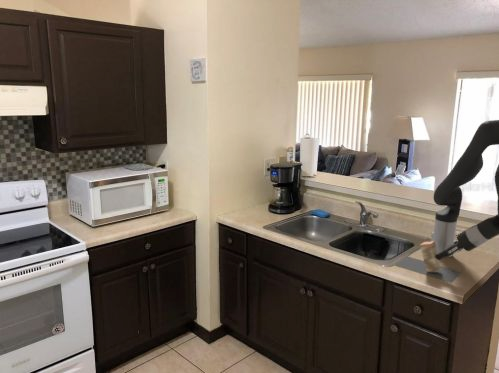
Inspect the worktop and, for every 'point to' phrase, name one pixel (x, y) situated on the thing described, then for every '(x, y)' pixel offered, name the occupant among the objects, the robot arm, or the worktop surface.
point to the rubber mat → (420, 267)
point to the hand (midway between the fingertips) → (437, 257)
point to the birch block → (430, 256)
